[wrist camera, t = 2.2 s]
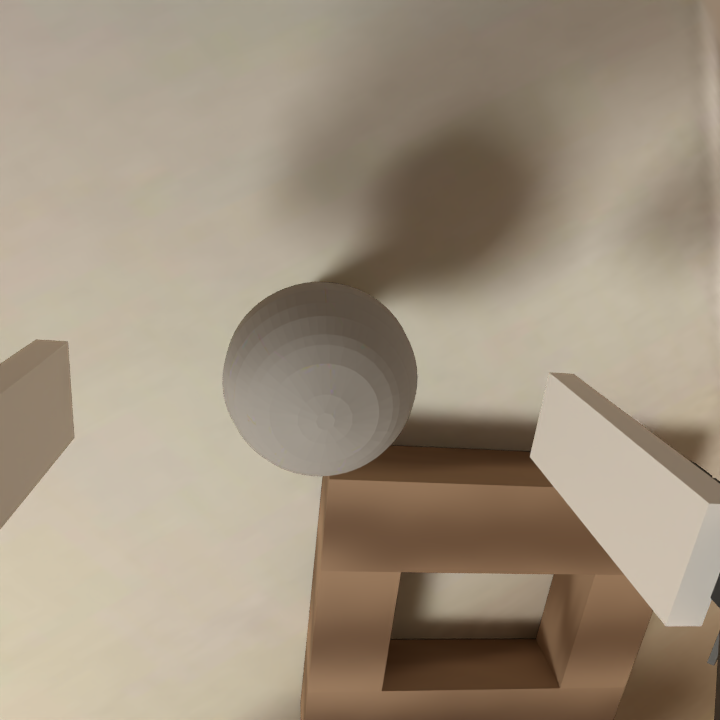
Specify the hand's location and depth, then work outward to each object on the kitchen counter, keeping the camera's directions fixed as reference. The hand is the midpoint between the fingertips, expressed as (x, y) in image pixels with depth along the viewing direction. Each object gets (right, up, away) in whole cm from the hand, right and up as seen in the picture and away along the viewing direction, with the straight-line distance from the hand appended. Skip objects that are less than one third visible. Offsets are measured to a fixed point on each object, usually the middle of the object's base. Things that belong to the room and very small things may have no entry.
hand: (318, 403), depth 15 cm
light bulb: (-1, +3, +8) cm, 8 cm away
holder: (+7, -10, +13) cm, 18 cm away
